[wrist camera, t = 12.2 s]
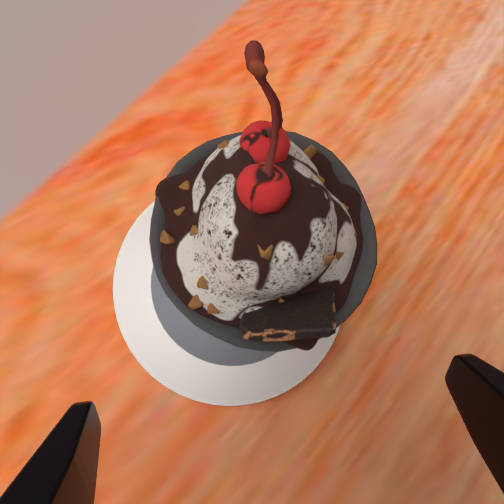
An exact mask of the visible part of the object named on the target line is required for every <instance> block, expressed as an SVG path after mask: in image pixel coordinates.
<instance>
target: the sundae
mask: <svg viewBox="0 0 504 504" xmlns="http://www.w3.org/2000/svg"><path fill="white" fill-rule="evenodd" d="M244 54H245V59H246V66H247V69H248V70H249V72H250V73H251V74H252V75H254V77H255V78H256V80H257V81H258V83H259V84H260V85H261V87H262V89H263V91H264V93H265V95H266V97H267V99H268V101H269V103H270V106H271V114H272V122H268V121H256V122H253V123H251V124H250V125H249V126H248V127H246V128H245V129H244V131H243V132H239V133H234V134H230V135H226V136H222V137H219V138H216V139H213V140H210V141H207V142H206V143H204V144H202V145H200V146H198V147H197V148H195V149H193V150H192V151H191V152H189V153H188V154H187V155H185V156H184V157H183V158H182V159H180V160H179V161H178V162H177V163H176V165H175V166H174V167H173V169H172V170H171V171H170V173H169V174H168V176H167V177H166V178H165V179H164V180H162V181H161V182H160V183H159V184H158V185H157V188H156V198H155V203H154V208H153V213H152V217H151V225H150V237H149V242H150V250H151V257H152V262H153V265H154V269H155V272H156V276H157V278H158V280H159V282H160V284H161V286H162V288H163V290H164V292H165V294H166V295H167V297H168V298H169V299H170V300H171V301H172V303H173V304H174V305H175V306H176V308H177V309H178V310H179V311H180V312H181V313H182V314H183V315H184V316H185V317H186V318H188V319H189V320H190V321H191V322H192V323H193V324H194V325H195V326H197V327H198V328H200V329H202V330H203V331H205V332H207V333H209V334H210V335H212V336H214V337H215V338H218V339H220V340H222V341H225V342H227V343H229V344H232V345H234V346H236V347H240V348H246V349H252V350H258V351H276V352H280V351H286V350H291V349H296V348H298V349H301V350H306V351H308V350H310V349H312V348H313V347H314V346H315V345H316V343H317V341H318V340H319V339H321V338H327V337H330V336H331V335H333V334H335V333H336V328H337V327H338V326H339V325H341V324H342V323H343V322H344V321H345V320H346V319H347V318H348V317H349V316H350V315H351V314H352V313H353V311H354V310H355V309H356V308H357V307H358V306H359V305H360V304H361V302H362V300H363V298H364V296H365V294H366V292H367V290H368V288H369V286H370V284H371V281H372V278H373V275H374V271H375V268H376V265H377V239H376V232H375V226H374V223H373V220H372V217H371V214H370V211H369V209H368V206H367V204H366V201H365V199H364V197H363V194H362V192H361V190H360V188H359V186H358V184H357V182H356V180H355V179H354V178H353V176H352V175H351V173H350V172H349V171H348V169H347V168H346V167H345V165H344V164H343V163H342V162H341V161H340V160H339V159H338V158H337V157H336V156H335V155H334V154H333V153H332V151H330V150H328V149H327V148H325V147H324V146H322V145H320V144H319V143H317V142H316V141H314V140H312V139H309V138H307V137H304V136H302V135H300V134H297V133H295V132H288V131H285V130H284V129H283V128H282V122H283V119H282V112H281V106H280V102H279V100H278V98H277V96H276V94H275V92H274V91H273V89H272V88H271V86H270V85H269V83H268V82H267V81H266V75H267V73H268V70H267V68H266V66H265V65H264V59H265V56H264V50H263V48H262V46H261V44H260V43H259V42H258V41H250V42H249V43H248V44H247V45H246V48H245V53H244Z"/></svg>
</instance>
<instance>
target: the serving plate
mask: <svg viewBox="0 0 504 504" xmlns="http://www.w3.org/2000/svg"><path fill="white" fill-rule="evenodd" d="M154 203H155V201H154V202H153V203H152V204H150V205H149V206H148V207H147V208H146V209H145V210H144V212H143V213H142V214H141V215H140V216H139V217H138V218H137V220H136V221H135V223H134V224H133V226H132V227H131V228H130V230H129V232H128V234H127V236H126V238H125V240H124V241H123V243H122V246H121V249H120V252H119V255H118V257H117V261H116V266H115V271H114V280H113V298H114V308H115V313H116V317H117V322H118V324H119V327H120V330H121V333H122V335H123V338H124V340H125V341H126V343H127V345H128V347H129V349H130V351H131V352H132V354H133V355H134V356H135V358H136V359H137V360H138V362H139V363H140V365H141V366H142V367H143V368H144V369H145V370H146V371H147V372H148V373H149V374H150V375H151V376H152V377H154V378H155V379H156V380H157V381H159V382H160V383H161V384H163V385H164V386H165V387H167V388H169V389H171V390H172V391H174V392H176V393H178V394H179V395H182V396H184V397H187V398H189V399H192V400H194V401H199V402H203V403H207V404H212V405H222V406H238V405H247V404H253V403H258V402H262V401H265V400H268V399H271V398H274V397H276V396H278V395H280V394H282V393H284V392H286V391H288V390H290V389H291V388H293V387H294V386H296V385H297V384H298V383H300V382H301V381H303V380H304V379H305V378H306V377H307V376H308V375H309V374H310V373H312V372H313V371H314V370H315V368H316V367H317V366H318V365H319V364H320V362H321V361H322V360H323V359H324V357H325V356H326V354H327V353H328V351H329V349H330V348H331V346H332V344H333V342H334V340H335V338H336V336H337V334H338V331H339V328H340V325H339V326H338V327H337V328H336V333H335V334H333V335H331V336H330V337H327V338H321V339H319V340H318V341H317V343H316V345H315V346H314V347H313V348H312V349H310V350H308V351H306V350H301V349H298V348H296V349H291V350H286V351H280V352H276V351H258V350H252V349H246V348H240V347H236V346H234V345H232V344H229V343H227V342H225V341H222V340H220V339H218V338H215V337H214V336H212V335H210V334H209V333H207V332H205V331H203V330H202V329H200V328H198V327H197V326H195V325H194V324H193V323H192V322H191V321H190V320H189V319H188V318H186V317H185V316H184V315H183V314H182V313H181V312H180V311H179V310H178V309H177V308H176V306H175V305H174V304H173V303H172V301H171V300H170V299H169V298H168V297H167V295H166V294H165V292H164V290H163V288H162V286H161V284H160V282H159V280H158V278H157V276H156V272H155V269H154V265H153V262H152V257H151V250H150V242H149V237H150V225H151V217H152V213H153V208H154Z"/></svg>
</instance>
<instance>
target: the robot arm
mask: <svg viewBox="0 0 504 504" xmlns="http://www.w3.org/2000/svg"><path fill="white" fill-rule="evenodd" d="M445 381H446V385H447V387H448V389H449V391H450V394H451V396H452V398H453V400H454V402H455V404H456V406H457V408H458V411H459V413H460V415H461V417H462V419H463V421H464V423H465V425H466V428H467V430H468V432H469V434H470V436H471V438H472V440H473V442H474V444H475V445H476V447H477V449H478V451H479V452H480V454H481V456H482V458H483V459H484V461H485V463H486V464H487V466H488V468H489V470H490V471H491V473H492V475H493V476H494V478H495V480H496V481H497V483H498V485H499V487H500V488H501V490H502V492H503V493H504V373H503V372H502V371H500V370H498V369H497V368H495V367H493V366H492V365H490V364H488V363H486V362H485V361H483V360H481V359H480V358H478V357H476V356H474V355H472V354H461V355H456V356H454V357H453V359H452V361H451V364H450V366H449V368H448V371H447V373H446V376H445ZM100 437H101V423H100V420H99V417H98V414H97V411H96V408H95V405H94V403H93V402H92V401H85V402H77V403H74V404H73V405H71V407H70V408H69V409H68V410H67V412H66V413H65V414H64V415H63V417H62V418H61V419H60V421H59V422H58V423H57V425H56V426H55V427H54V428H53V430H52V431H51V432H50V434H49V435H48V436H47V438H46V439H45V440H44V441H43V443H42V444H41V445H40V447H39V448H38V449H37V450H36V452H35V453H34V454H33V456H32V457H31V458H30V460H29V461H28V462H27V463H26V465H25V466H24V467H23V469H22V470H21V471H20V473H19V474H18V475H17V476H16V478H15V479H14V480H13V482H12V483H11V484H10V485H9V487H8V488H7V489H6V491H5V492H4V493H3V495H2V496H1V497H0V504H94V497H95V488H96V478H97V467H98V457H99V447H100Z"/></svg>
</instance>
